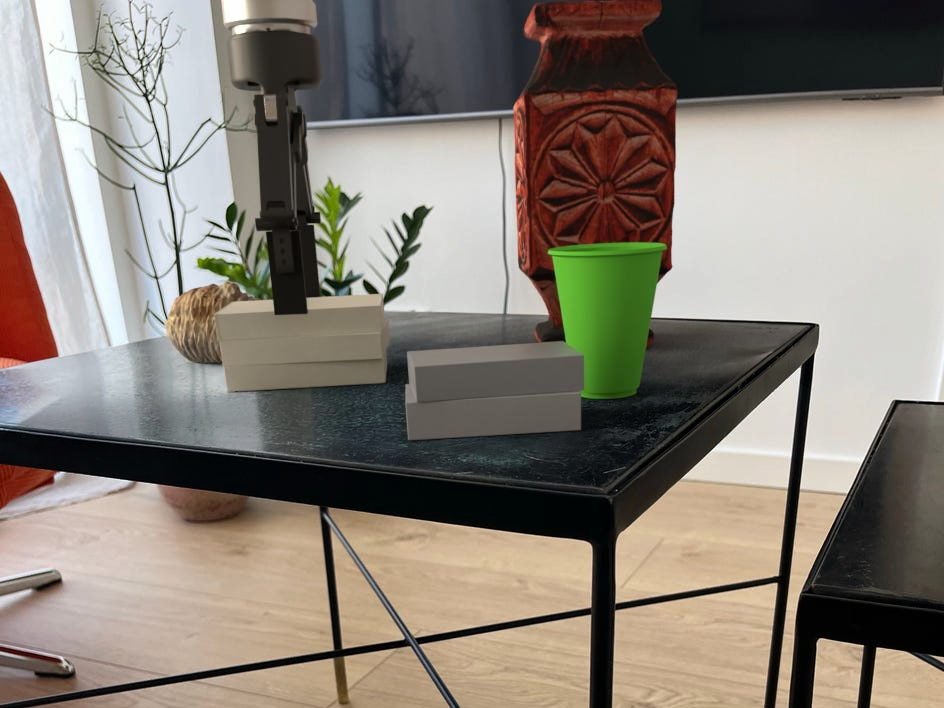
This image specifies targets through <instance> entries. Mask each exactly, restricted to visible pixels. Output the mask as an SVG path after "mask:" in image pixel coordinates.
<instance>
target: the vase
mask: <svg viewBox="0 0 944 708" xmlns="http://www.w3.org/2000/svg"><path fill="white" fill-rule="evenodd" d="M662 10H663V6H662V1H661V0H567V1H565V0H563V1H562V0H561V1H549V2H536V3H535V4H534V5H533V6H532V9H531V10H530V13H529V15H528V16H527V18H526V22H525V24H524V27H523V35H524V37H525V38H526V39H527V40H529V41H535V42H539V43H540V51H539V55H538V58H537V61H536V63H535V66H534V69H533V71H532V73H531V75H530V77H529V79H528V82H527V83H526V85H525V86H524V88H523V89H522V92H521V93H520V95H519V97H517V100H516V101H515V102H514V105H513V108H512V109H513V124H514V184H515V210H516V211H515V212H516V213H515V215H516V230H517V231H516V234H517V235H516V236H517V238H516V239H517V262H518V269H519V270H520V271H521V272H522V273H523V274H524V275H525V277H526V278H528V279H529V281H530V282H531V284H532V285H533V287H534V288H535V290H536V291H537V293H538V294H539V295H540V297H541V299H542V301H543V303H544V305H545V308H546V310H547V313H548V318H547V320H546V321H542V322H538V323H537V324H536V325H535V327H534V335H535V338H536V341H537V343H542V342H557V341H564V342H565V343H566V338H565V332H564V326H563V320H562V313H561V307H560V301H559V295H558V288H557V282H556V276H555V270H554V264H553V257H552V255H550V254H548V251H549V249H551V248H556V247H562V246H572V245H584V244H600V243H631V242H645V243H662V244H665V245H666V247H667V249H665V250H663V251H662V257H661V263H660V269H659V275H658V280H657V284H659V282H660V281H661V280H662V279H663V278H664V277H665V276H666V275H667V273H669V272H670V271H671V270H672V269H673V267H674V266H673V259H672V255H673V254H672V253H673V252H672V250H673V249H672V248H673V218H674V208H675V172H676V167H677V165H676V161H677V147H676V146H677V140H676V138H677V135H676V133H677V132H676V131H677V130H676V128H677V127H676V126H677V125H676V121H677V116H676V115H677V103H678V101H677V100H678V91H679V89H678V87H677V85H676V83H675V82H674V81H673V80H672V79H671V78H670V77H669V76H668V74H666V73H665V72H664V70H663V69H662V68H661V67H660V65H659V63H658V62H657V61H656V59H655V57H654V56H653V54H652V51H651V49H650V47H649V46H648V44H647V42H646V38H645V36H644V33H643V30H644V29H645V27H647V26H649V25H651V24H652V23H653V22H655V21H656V20H657V19H658V18H659V17H660V15H661V14H662ZM654 340H655V333H654V331H653V329H651V328H650V327H649V333H648V339H647V345H646V349H647V348H649V347H650V346H651V345H653V343H654Z"/></svg>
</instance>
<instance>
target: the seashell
mask: <svg viewBox="0 0 944 708" xmlns="http://www.w3.org/2000/svg"><path fill="white" fill-rule="evenodd" d="M256 300H262V299H261V298H259V297H254V296H253V295H251V296H250V295H248V293H246V292H242V291H241V288H240V285H239V284H238V283H236V282H231V281H227V280H226V281H224V282H223V284H220V285H218V284H215V283H210V284H209V285H205V286H198V287H193V288H190V289H189V290H187V291H185V292H183V293H182V294H181V295H179V296H177V297H175V299H174V300H173V303H172V304H171V308H170V311H169V313H168V318H167V320H166V321H165V322H163V325H164V329H165V330H166V331H165V333H166V337H167V339H168V340H169V341H170V343H171V344H172V345H173V346H174V348H175V349H176V350H177V351H178V353H179V354H180V355H181V356H183V357H184V358H185V359H186V360H188V361H190V362H191V361H194V362H193V363H197V362H198V363H199V362H200V363H199V364H204V363H205V364H207V363H209V364H211V363H214V364H216V362H217V363H220V362H222V356H221V349H220V342H219V341H218V340H217V334H216V327H215V320H214V314H215V313H217V312H218V311H220V310H221V309H223V308H224V307H225V306H227V305H228V304H230V303H231V302H238V301H256Z"/></svg>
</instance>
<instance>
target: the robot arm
mask: <svg viewBox="0 0 944 708" xmlns="http://www.w3.org/2000/svg"><path fill="white" fill-rule="evenodd" d="M220 3H221V11H222V12H221V13H222V22H223V26H224V27H225V28H226V29H227V30H229V32H231V35H230V36H229V37H228V40H227V41H226V48H227V49H226V50H227V57H228V58H227V59H228V65H229V66H228V67H229V76H230V82H231V84H232V86H233V87H234V88H235V89H238V90H240V91H246V92H247V91H249V92H260V93H258V94H254V95H253V99H252V103H253V107H254V110H255V111H254V126H255V131H256V140H257V159H258V180H259V181H258V184H259V201H260V202H259V203H260V210H259V217H255V218H254V224H255V230H256V232H265V237H266V238H265V240H266V248H267V257H268V266H269V276H270V283H271V294H272V300H273V304H274V313H275V315H293V314H307V313H308V309H307V299H306V298H312V297H321V288H320V278H319V277H320V276H319V265H318V256H317V254H318V253H317V245H316V242H317V241H316V232H315V224H321V223H322V217H321V212H320V211H316V208H315V205H314V201H313V194H312V188H311V187H312V186H311V179H310V171H309V164H308V163H309V162H308V161H309V148H308V142H307V136H308V122H307V116H306V114H305V113H304V111H303V109H302V106H301V105H300V104H297V99H296V91H307V90H308V91H309V90H313V89H314V90H315V89H317V88H319V87H320V86H322V84H323V67H322V56H321V45H320V43H321V42H320V40H319V39H317V36H316V35H314V34H312V33H311V31H313V30H314V29H316V28H317V26H318V15H317V5H316V3H315V2H314V1H313V0H220Z"/></svg>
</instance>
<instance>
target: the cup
mask: <svg viewBox="0 0 944 708" xmlns="http://www.w3.org/2000/svg"><path fill="white" fill-rule="evenodd" d="M665 249H667V247H666V245H665V244H662V243H645V242H631V243H600V244H584V245H572V246H562V247H556V248H551V249H549V251H548V254H550V255H552V257H553V264H554V270H555V276H556V282H557V288H558V295H559V301H560V307H561V313H562V320H563V326H564V332H565V338H566V343H567V344H568V345H570V346H571V347H573V348H574V349H576V350H577V351H579V352H580V353H582V354H583V355H584V390H583V391H580V392H581V398H585V399H593V400H594V399H595V400H610V399H611V400H612V399H622V398H627V397H631V396H634V395H636V394H637V389H638V388H640V385H641V378H642V373H643V367H644V362H645V356H646V350H647V348H646V345H647V339H648V333H649V328H650V327H651V320H652V314H653V309H654V304H655V297H656V291H657V285H658V283H657V280H658V275H659V269H660V263H661V257H662V251H663V250H665Z"/></svg>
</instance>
